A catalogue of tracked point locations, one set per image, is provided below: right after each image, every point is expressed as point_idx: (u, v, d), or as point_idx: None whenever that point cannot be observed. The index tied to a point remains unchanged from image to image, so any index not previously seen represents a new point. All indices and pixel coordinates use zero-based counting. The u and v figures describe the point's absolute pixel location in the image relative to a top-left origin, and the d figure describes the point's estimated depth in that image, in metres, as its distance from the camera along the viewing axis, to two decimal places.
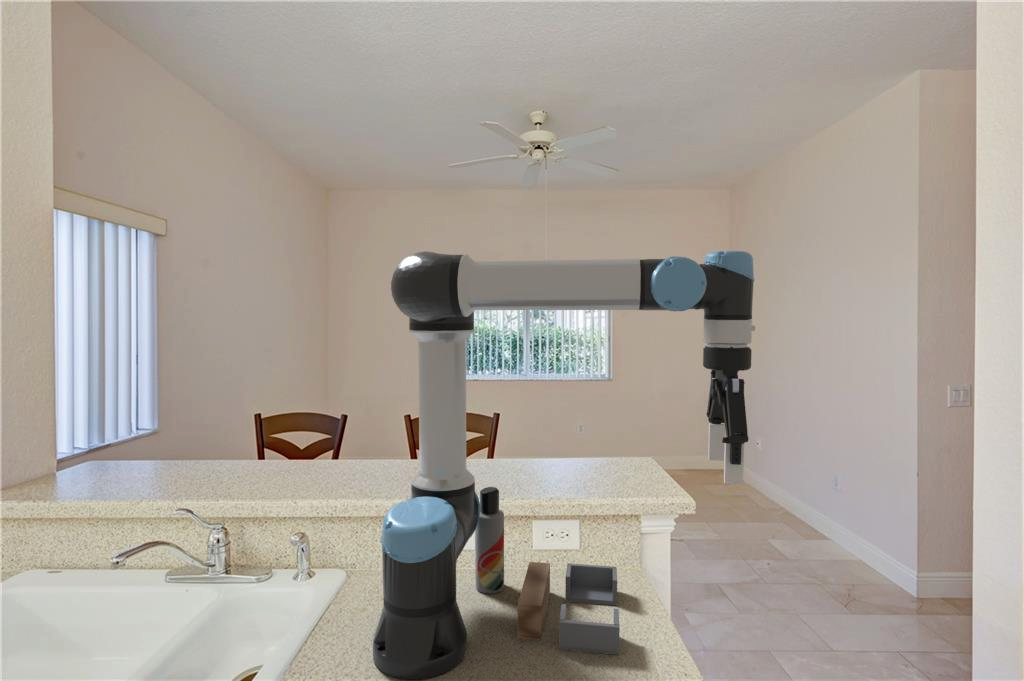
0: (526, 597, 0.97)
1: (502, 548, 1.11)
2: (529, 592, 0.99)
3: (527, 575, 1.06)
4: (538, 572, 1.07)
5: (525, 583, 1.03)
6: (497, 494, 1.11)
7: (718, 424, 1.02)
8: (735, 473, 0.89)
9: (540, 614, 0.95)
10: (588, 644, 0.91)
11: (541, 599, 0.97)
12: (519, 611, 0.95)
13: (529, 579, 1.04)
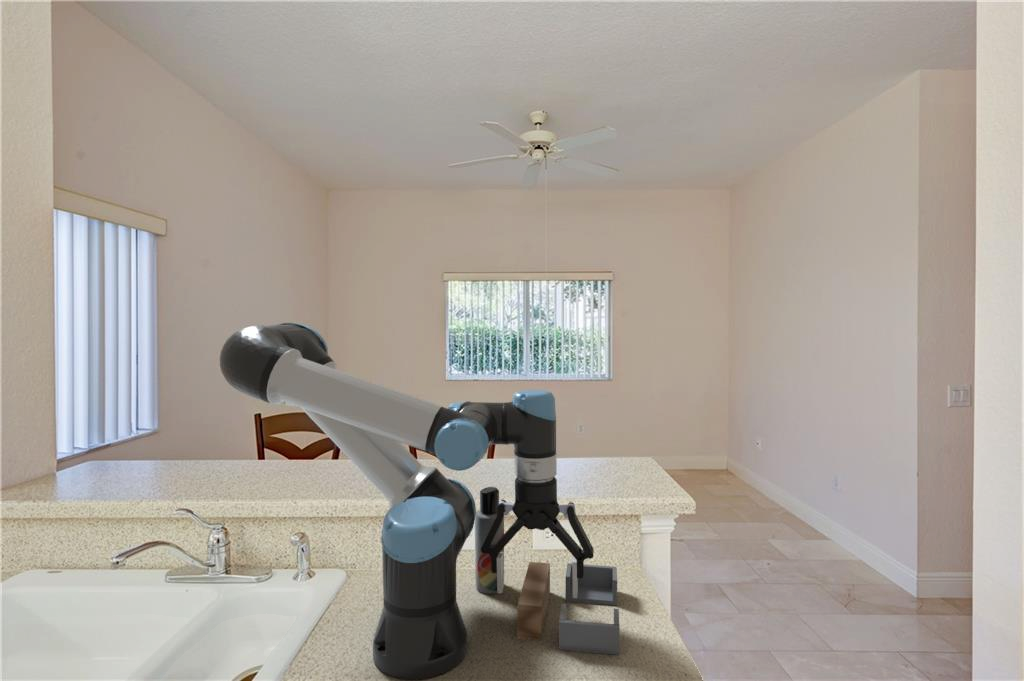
0: (526, 598, 0.97)
1: None
2: (529, 592, 0.99)
3: (527, 575, 1.06)
4: (538, 572, 1.07)
5: (525, 583, 1.02)
6: (497, 494, 1.11)
7: (574, 559, 1.01)
8: None
9: (540, 614, 0.95)
10: (588, 644, 0.91)
11: (541, 599, 0.97)
12: (519, 611, 0.95)
13: (529, 579, 1.04)
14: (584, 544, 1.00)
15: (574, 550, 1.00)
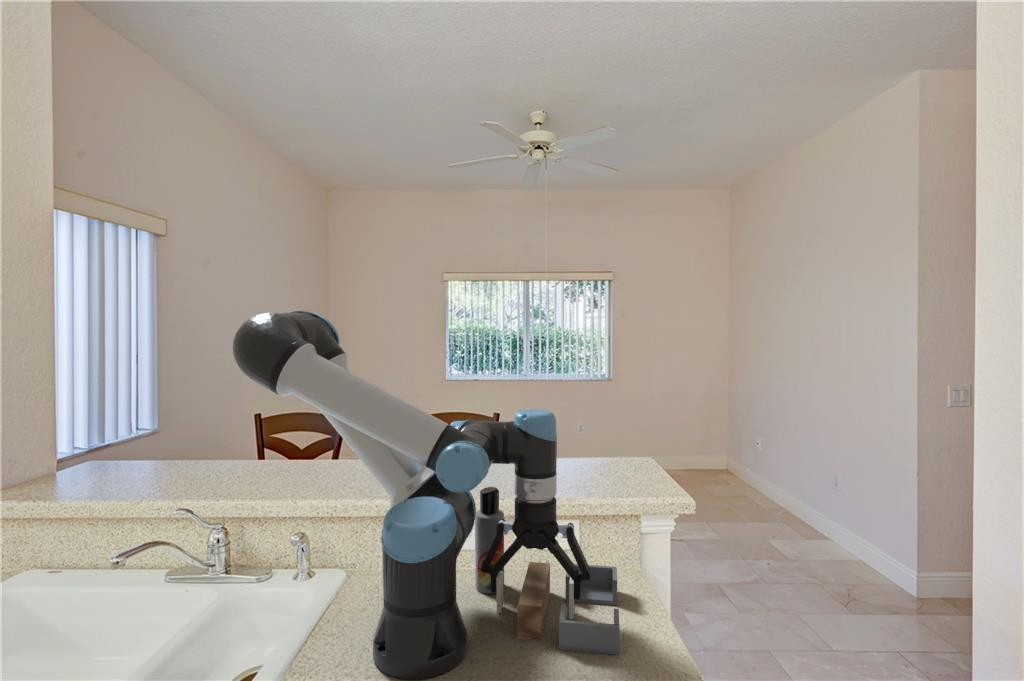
0: (526, 598, 0.97)
1: (502, 548, 1.11)
2: (529, 592, 0.99)
3: (527, 575, 1.06)
4: (538, 572, 1.07)
5: (525, 583, 1.02)
6: (497, 494, 1.11)
7: (571, 580, 1.02)
8: None
9: (540, 614, 0.95)
10: (588, 644, 0.91)
11: (541, 599, 0.97)
12: (519, 611, 0.95)
13: (529, 579, 1.04)
14: (582, 565, 1.00)
15: (571, 571, 1.01)
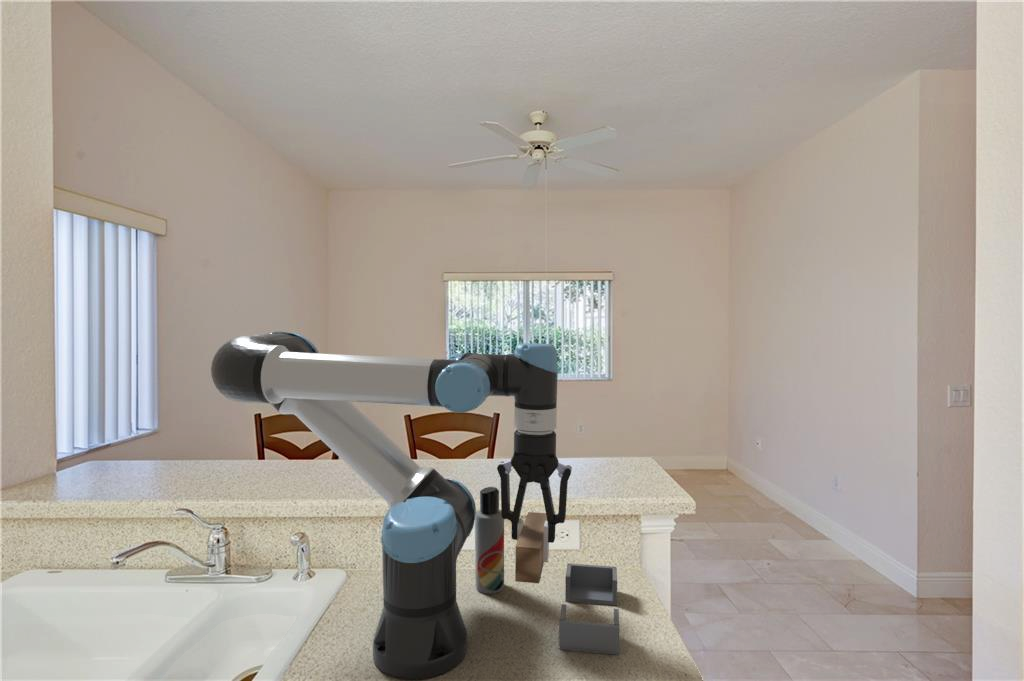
0: (524, 541, 0.97)
1: (502, 548, 1.11)
2: (528, 536, 0.99)
3: (525, 523, 1.05)
4: (537, 521, 1.06)
5: (523, 529, 1.02)
6: (497, 494, 1.11)
7: (546, 524, 1.02)
8: None
9: (538, 556, 0.94)
10: (588, 644, 0.91)
11: (539, 542, 0.96)
12: (517, 553, 0.95)
13: (527, 526, 1.03)
14: (562, 508, 1.00)
15: (550, 513, 1.01)
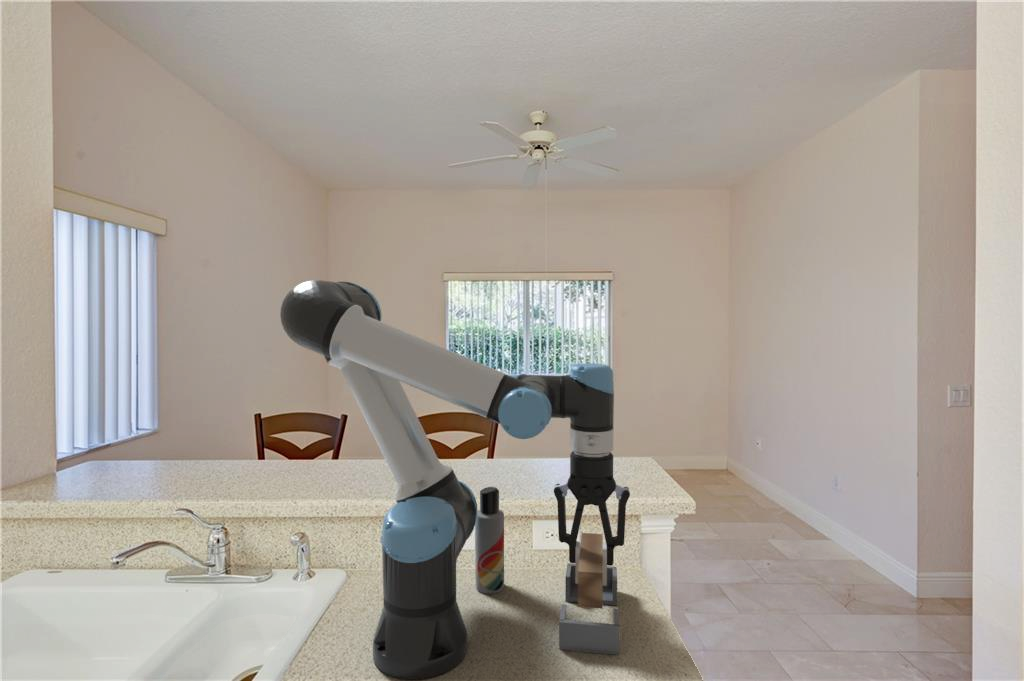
0: (585, 565, 0.95)
1: (502, 548, 1.11)
2: (588, 560, 0.97)
3: (582, 545, 1.04)
4: (592, 542, 1.05)
5: (581, 552, 1.00)
6: (497, 494, 1.11)
7: (604, 546, 1.00)
8: None
9: (601, 581, 0.93)
10: (588, 644, 0.91)
11: (601, 566, 0.95)
12: (579, 578, 0.93)
13: (584, 548, 1.02)
14: (621, 530, 0.99)
15: (609, 536, 0.99)
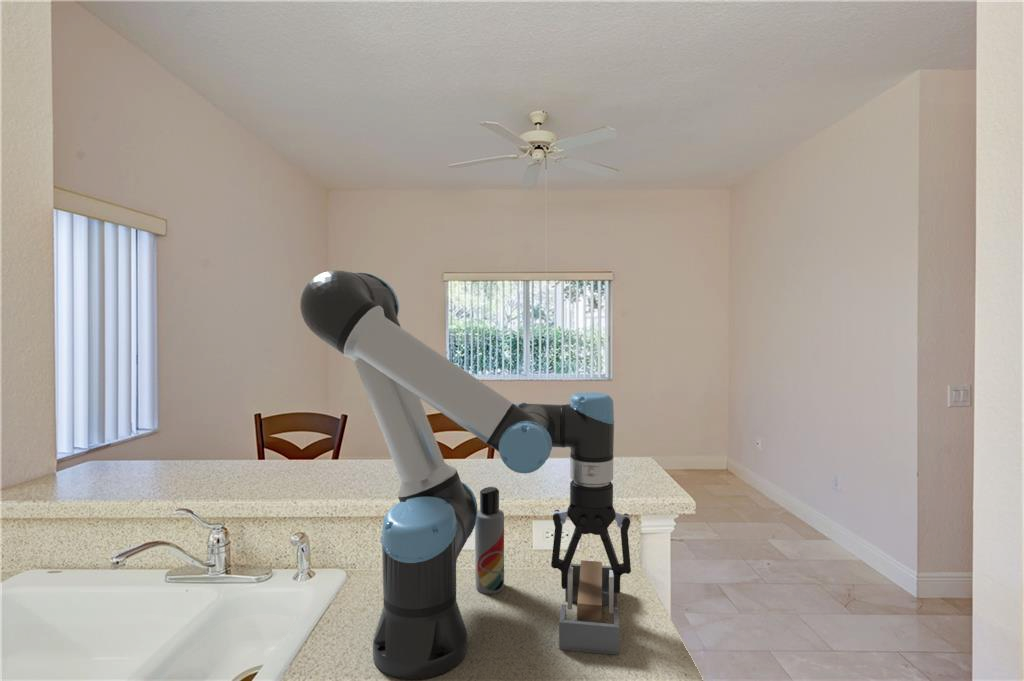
0: (584, 596, 0.96)
1: (502, 548, 1.11)
2: (587, 591, 0.98)
3: (581, 574, 1.04)
4: (592, 571, 1.05)
5: (581, 582, 1.01)
6: (497, 494, 1.11)
7: (611, 574, 1.00)
8: None
9: (600, 613, 0.93)
10: (588, 644, 0.91)
11: (600, 598, 0.95)
12: (578, 610, 0.94)
13: (584, 578, 1.02)
14: (626, 558, 0.99)
15: (614, 564, 0.99)
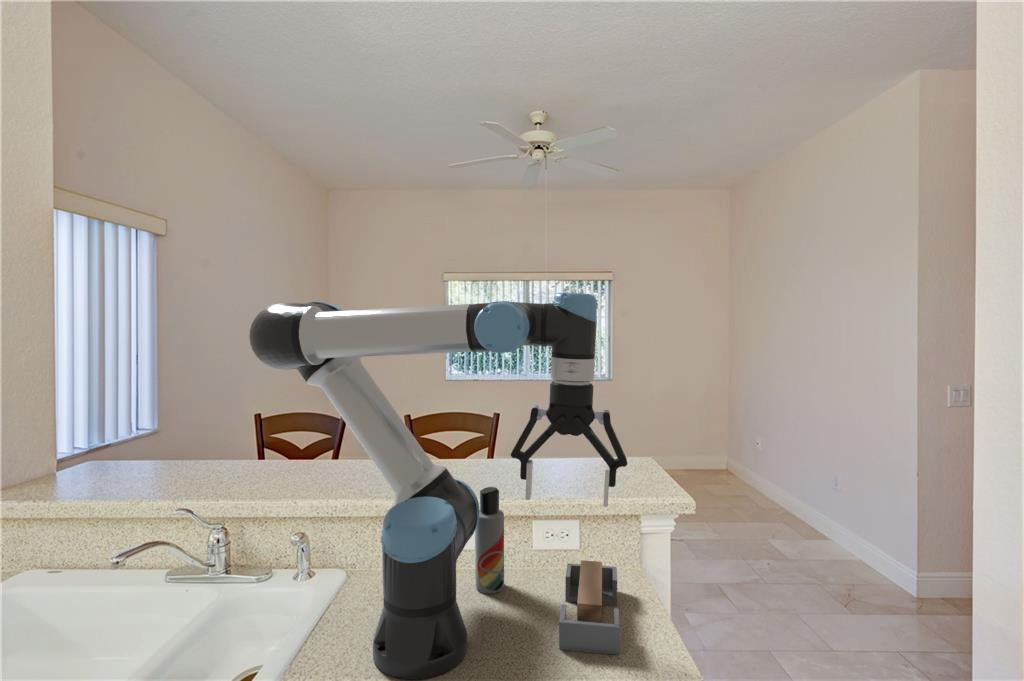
0: (584, 596, 0.96)
1: (502, 548, 1.11)
2: (587, 591, 0.98)
3: (581, 574, 1.04)
4: (592, 571, 1.05)
5: (581, 582, 1.01)
6: (497, 494, 1.11)
7: (607, 468, 0.99)
8: None
9: (600, 613, 0.93)
10: (588, 644, 0.91)
11: (600, 598, 0.95)
12: (578, 610, 0.94)
13: (584, 578, 1.02)
14: (618, 451, 0.97)
15: (607, 458, 0.98)
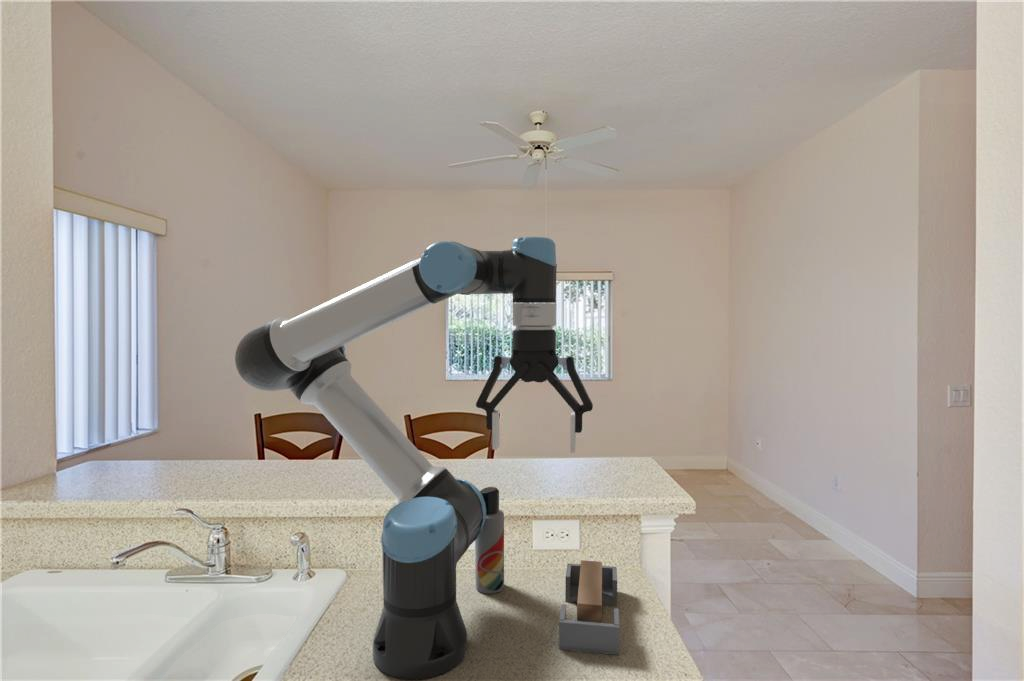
0: (584, 596, 0.96)
1: (502, 548, 1.11)
2: (587, 591, 0.98)
3: (581, 574, 1.04)
4: (592, 571, 1.05)
5: (581, 582, 1.01)
6: (497, 494, 1.11)
7: (572, 413, 0.98)
8: None
9: (600, 613, 0.93)
10: (588, 644, 0.91)
11: (600, 598, 0.95)
12: (578, 610, 0.94)
13: (584, 578, 1.02)
14: (583, 396, 0.96)
15: (573, 403, 0.97)
